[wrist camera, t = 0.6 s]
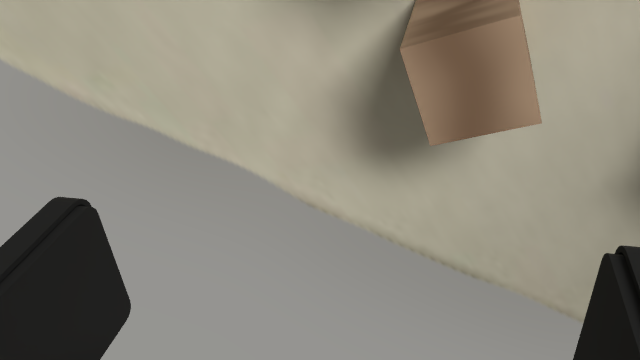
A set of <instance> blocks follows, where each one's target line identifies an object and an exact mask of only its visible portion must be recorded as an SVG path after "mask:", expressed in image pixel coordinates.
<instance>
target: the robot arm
mask: <svg viewBox="0 0 640 360" xmlns="http://www.w3.org/2000/svg"><path fill="white" fill-rule="evenodd" d="M130 309H131V304H130V299H129V297H128V294H127V291H126V289H125V286H124V283H123V280H122V278H121V275H120V272H119V269H118V267H117V264H116V261H115V259H114V256H113V253H112V250H111V247H110V245H109V242H108V239H107V237H106V234H105V231H104V229H103V226H102V223H101V220H100V218H99V215H98V213H97V211H96V209H94V208H93V207H91V205H90V203H89V202H88V201H87V200H84V199H76V198H65V197H57V198H54V199H52V200H51V201H50V202H48V203H47V204H46V205H45V206H44V207H43V208H42V209H41V210H40V211H39V212H38V213H37V214H36V215H34V216H33V217H32V218H31V219H30V220H29V221H28V222H27V223H26V224H25V225H24V226H23V227H22V228H20V229H19V230H18V231H17V232H16V233H15V234H14V235H13V236H12V237H11V238H10V239H9V240H8V241H6V242H5V243H4V244H3V245H2V246H1V247H0V360H100V359H101V357H102V356H103V354H104V353H105V351H106V350H107V349H108V347H109V345H110V344H111V343H112V341H113V340H114V338H115V337H116V335H117V334H118V332H119V331H120V329H121V327H122V326H123V325H124V323H125V322H126V320H127V318H128V317H129V314H130ZM573 360H640V247H632V246H619V247H618V248H617V250H616V252H615V254H609V253H606V254H604V256H603V258H602V261H601V264H600V268H599V271H598V275H597V278H596V282H595V285H594V289H593V292H592V296H591V299H590V303H589V306H588V310H587V313H586V317H585V320H584V323H583V327H582V331H581V334H580V338H579V341H578V344H577V348H576V352H575V355H574V358H573Z"/></svg>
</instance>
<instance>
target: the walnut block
mask: <svg viewBox="0 0 640 360" xmlns="http://www.w3.org/2000/svg"><path fill="white" fill-rule="evenodd" d="M400 52H401V55H402V58H403V61H404V64H405V68H406V71H407V74H408V77H409V80H410V83H411V86H412V90H413V93H414V96H415V99H416V102H417V105H418V109H419V112H420V115H421V118H422V121H423V124H424V127H425V131H426V134H427V137H428V140H429V143H430V146H433V145H437V144H442V143H447V142H452V141H457V140H462V139H467V138H472V137H477V136H481V135H486V134H491V133H496V132H501V131H506V130H511V129H516V128H521V127H525V126H530V125H535V124H540V123H542V121H541V116H540V110H539V105H538V99H537V94H536V88H535V82H534V77H533V71H532V66H531V60H530V55H529V50H528V45H527V40H526V35H525V30H524V25H523V20H522V15H521V10H520V5H519V0H416V2H415V5H414V8H413V11H412V14H411V17H410V20H409V23H408V26H407V29H406V32H405V35H404V38H403V41H402V44H401V47H400Z"/></svg>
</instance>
